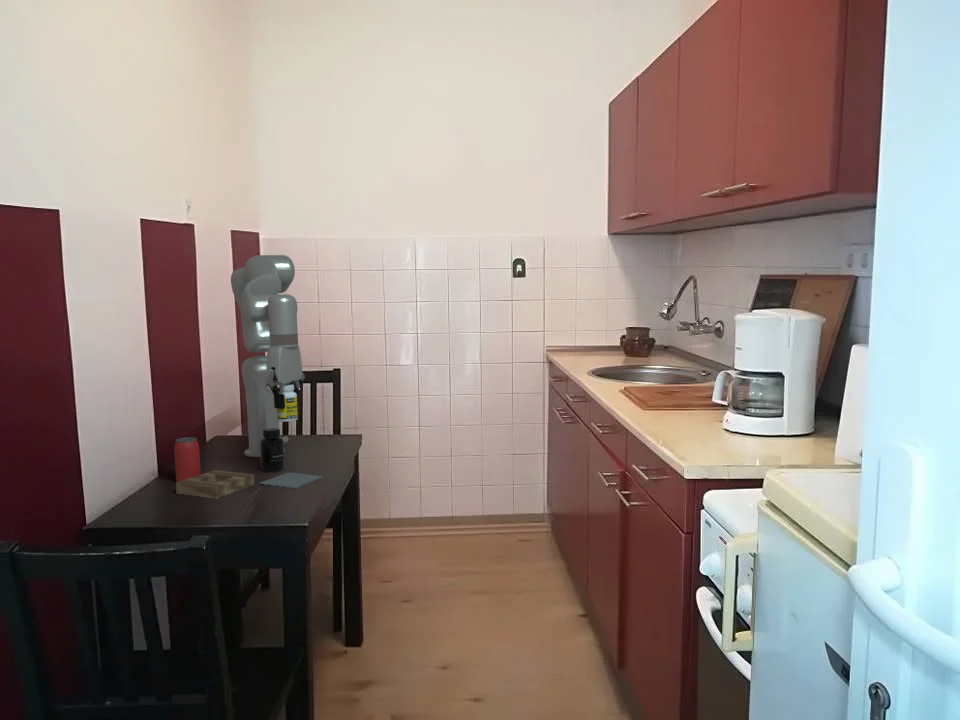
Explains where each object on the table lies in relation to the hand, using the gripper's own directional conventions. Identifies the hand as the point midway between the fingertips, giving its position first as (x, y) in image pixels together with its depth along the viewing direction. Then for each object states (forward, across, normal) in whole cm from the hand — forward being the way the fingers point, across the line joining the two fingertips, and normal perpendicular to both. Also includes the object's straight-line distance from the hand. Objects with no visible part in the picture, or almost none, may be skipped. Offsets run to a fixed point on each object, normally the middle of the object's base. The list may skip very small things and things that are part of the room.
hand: (287, 405), depth 209 cm
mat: (+21, 0, 0) cm, 21 cm away
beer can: (+21, +10, -28) cm, 37 cm away
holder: (+21, +14, -14) cm, 29 cm away
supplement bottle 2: (+4, 0, 0) cm, 4 cm away
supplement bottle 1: (+21, -9, -14) cm, 27 cm away
